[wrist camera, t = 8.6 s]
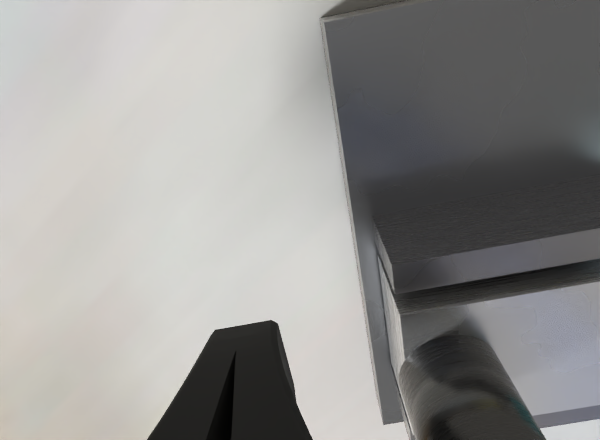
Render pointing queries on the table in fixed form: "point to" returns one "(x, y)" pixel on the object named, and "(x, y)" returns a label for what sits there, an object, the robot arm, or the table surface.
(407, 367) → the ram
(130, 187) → the table surface
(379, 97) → the press bed
